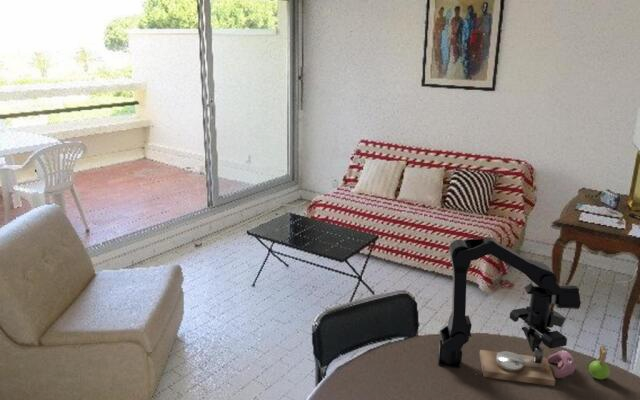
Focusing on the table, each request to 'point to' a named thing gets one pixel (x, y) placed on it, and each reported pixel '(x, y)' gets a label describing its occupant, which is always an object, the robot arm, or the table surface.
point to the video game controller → (562, 363)
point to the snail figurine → (600, 365)
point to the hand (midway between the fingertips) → (533, 351)
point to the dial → (518, 360)
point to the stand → (526, 375)
